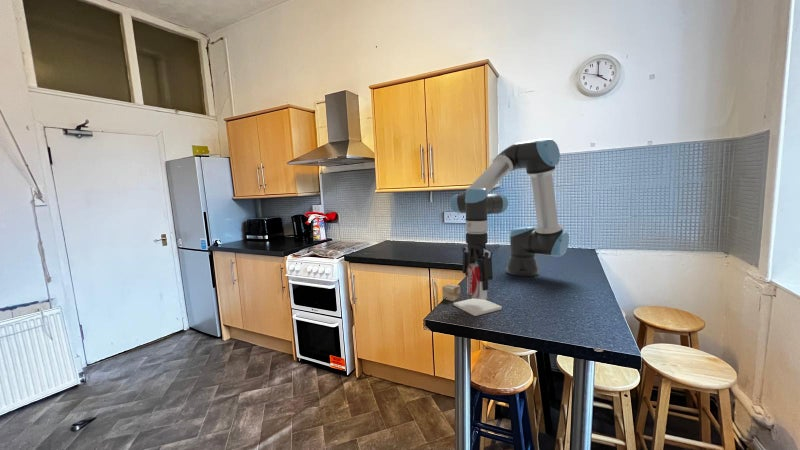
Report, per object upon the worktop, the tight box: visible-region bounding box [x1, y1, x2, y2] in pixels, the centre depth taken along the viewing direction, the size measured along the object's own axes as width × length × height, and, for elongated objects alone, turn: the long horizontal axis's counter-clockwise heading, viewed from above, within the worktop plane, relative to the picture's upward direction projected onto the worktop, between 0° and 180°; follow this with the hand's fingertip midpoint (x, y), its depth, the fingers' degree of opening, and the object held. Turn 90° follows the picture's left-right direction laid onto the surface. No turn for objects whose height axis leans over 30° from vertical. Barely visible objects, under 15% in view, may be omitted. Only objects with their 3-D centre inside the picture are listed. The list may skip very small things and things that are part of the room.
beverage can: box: [467, 262, 485, 299], centre depth 113 cm, size 6×6×12 cm
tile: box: [453, 298, 503, 317], centre depth 114 cm, size 12×12×1 cm
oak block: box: [441, 283, 461, 302], centre depth 125 cm, size 5×5×5 cm
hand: (476, 295), depth 114 cm, fingers closed on beverage can, 6 cm apart
